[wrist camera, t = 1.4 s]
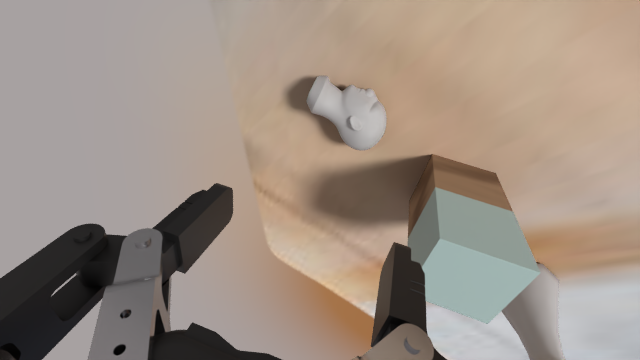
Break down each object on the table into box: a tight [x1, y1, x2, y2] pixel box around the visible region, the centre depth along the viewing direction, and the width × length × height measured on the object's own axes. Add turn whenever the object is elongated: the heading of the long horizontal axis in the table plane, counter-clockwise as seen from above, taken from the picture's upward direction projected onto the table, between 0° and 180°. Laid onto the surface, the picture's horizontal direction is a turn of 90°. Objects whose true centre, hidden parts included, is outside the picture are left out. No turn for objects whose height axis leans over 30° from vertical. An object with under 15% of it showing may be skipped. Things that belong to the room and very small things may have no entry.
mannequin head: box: [306, 76, 386, 150], centre depth 26 cm, size 4×8×5 cm
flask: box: [502, 264, 565, 360], centre depth 28 cm, size 7×7×10 cm
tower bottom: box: [408, 154, 513, 237], centre depth 26 cm, size 6×6×6 cm
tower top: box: [408, 187, 541, 324], centre depth 21 cm, size 6×6×6 cm
